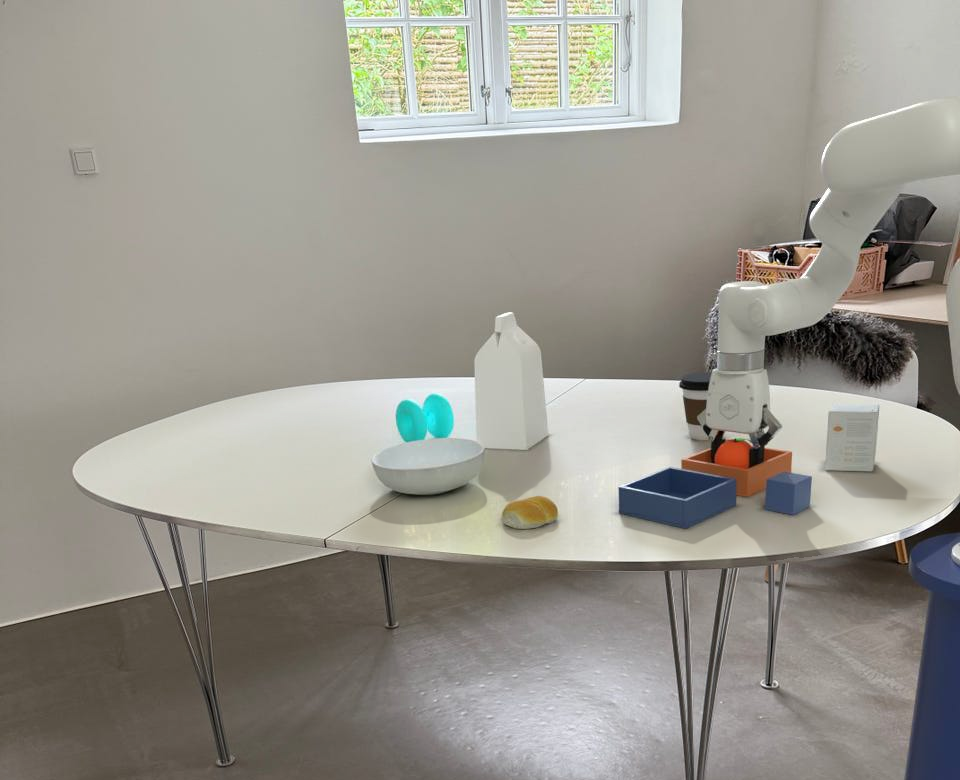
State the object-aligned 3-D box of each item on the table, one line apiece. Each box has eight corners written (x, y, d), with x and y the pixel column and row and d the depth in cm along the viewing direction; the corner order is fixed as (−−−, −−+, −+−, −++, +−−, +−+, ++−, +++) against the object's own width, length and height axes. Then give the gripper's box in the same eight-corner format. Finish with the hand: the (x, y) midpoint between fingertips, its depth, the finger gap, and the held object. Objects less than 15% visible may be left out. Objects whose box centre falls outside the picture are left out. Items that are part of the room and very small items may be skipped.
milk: (500, 433, 210) (491, 310, 199) (548, 435, 206) (542, 309, 194) (476, 447, 201) (466, 319, 189) (526, 449, 196) (518, 318, 185)
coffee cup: (713, 427, 200) (715, 369, 195) (744, 437, 191) (746, 376, 185) (668, 435, 197) (668, 376, 192) (697, 446, 188) (698, 385, 182)
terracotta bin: (790, 476, 165) (792, 451, 163) (746, 497, 157) (748, 470, 155) (725, 465, 174) (726, 441, 172) (681, 484, 167) (681, 459, 165)
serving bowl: (412, 469, 190) (408, 435, 187) (506, 475, 180) (503, 439, 177) (354, 501, 174) (348, 464, 171) (453, 510, 164) (449, 471, 161)
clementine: (738, 469, 170) (740, 430, 167) (768, 476, 165) (770, 436, 161) (705, 479, 166) (706, 439, 163) (734, 487, 161) (735, 445, 158)
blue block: (810, 506, 151) (812, 476, 148) (792, 515, 148) (794, 484, 146) (782, 501, 154) (783, 471, 152) (764, 509, 151) (766, 479, 149)
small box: (875, 463, 168) (881, 403, 164) (872, 472, 164) (878, 411, 159) (827, 461, 171) (831, 403, 167) (823, 470, 167) (828, 410, 162)
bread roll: (567, 518, 155) (566, 495, 153) (527, 533, 150) (526, 509, 148) (532, 509, 161) (531, 486, 159) (493, 523, 156) (491, 500, 154)
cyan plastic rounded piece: (458, 440, 208) (454, 394, 203) (419, 450, 203) (414, 403, 198) (434, 433, 215) (429, 389, 211) (396, 443, 210) (390, 397, 206)
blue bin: (736, 505, 154) (737, 478, 152) (685, 528, 146) (686, 500, 144) (669, 492, 163) (669, 466, 161) (618, 513, 156) (618, 486, 154)
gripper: (683, 361, 161) (682, 464, 169) (774, 369, 149) (768, 479, 157) (709, 354, 165) (707, 454, 173) (799, 360, 153) (793, 468, 161)
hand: (736, 465), depth 165 cm, fingers closed on clementine, 7 cm apart
